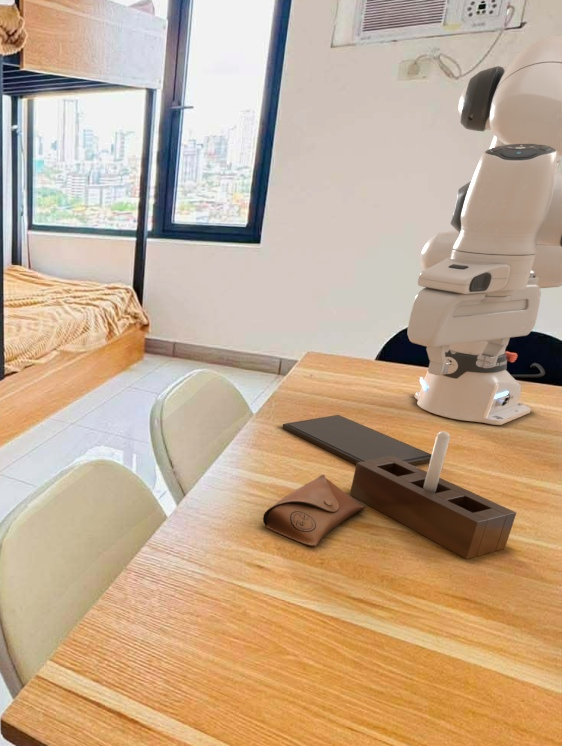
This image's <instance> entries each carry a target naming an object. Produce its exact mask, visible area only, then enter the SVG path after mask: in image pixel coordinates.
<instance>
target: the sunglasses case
mask: <svg viewBox="0 0 562 746" xmlns="http://www.w3.org/2000/svg"><path fill="white" fill-rule="evenodd" d="M364 509H366V506H365V505H363V504H361V503H359V502H358V501H357V500H355V498H354V497H352V496H351V495H350V494H348V493H346V492H345V491H343V490H342V489H341V488H340V487H338V486H337V484H335V483H333V482H332V481H331V480H329V479H328V478H326V474H321V475H319V476H318V477H317V478H314V479H313V480H311V481H309V482H308V483H306V484H304V485H302V486H301V487H299V488H298V489H296V490H294V491H293V492H290V493H289V494H288V495H286V496H284V498H282V499H280V500H279V501H278V502H276V503H275V504H273V505H272V506H270V507H269V508H268V509H267V510H265V512H264V514H263V518H262V522H263V524H264V525H265V527H266V529H268V530H269V531H272V532H273V533H276V534H278V535H280V536H282V537H284V538H287V539H289V540H291V541H294V542H297V543H300V544H302V545H305V546H309V547H317V546H318V545H319V544H320V543H321V542H322V540H323V539H324V538H325V537H326V536H327V535H328V534H330V533H331V532H332V531H333V530H335V529H336V528H337V527H339V526H340V525H341V524H343V523H344V522H346V521H347V520H349V519H350V518H352V517H353V516H355V515H356V514H358V513H360V512H361V511H363V510H364Z"/></svg>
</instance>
